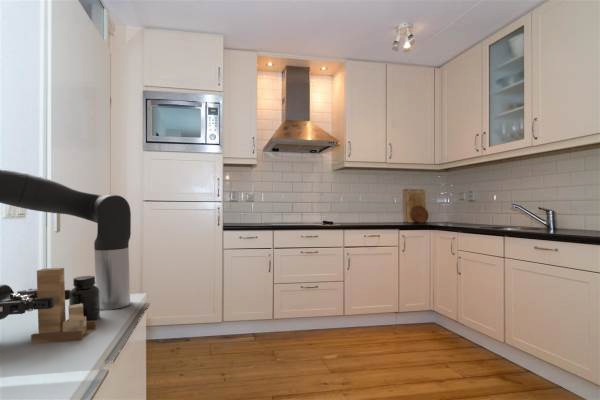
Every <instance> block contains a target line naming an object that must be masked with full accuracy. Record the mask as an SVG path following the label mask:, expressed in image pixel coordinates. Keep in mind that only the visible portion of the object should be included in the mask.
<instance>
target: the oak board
mask: <svg viewBox="0 0 600 400" xmlns="http://www.w3.org/2000/svg"><path fill="white" fill-rule="evenodd" d="M65 281H66V280H65V267H58V268H57V267H56V268H55V267H54V268H53V267H52V268H42V269H38V270H36V285H37V286H36V289H37V297H38V298H53V299H54V307H53V308H51V309H37V320H38V321H37V322H38V323H37V324H38V327H37V328H38V329H37V330H38V332H37V333H53V332H63V322H65V321H66V318H67V317H66V300H65V290H66V287H65V286H66V285H65V284H66V282H65Z"/></svg>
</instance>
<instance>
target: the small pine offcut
mask: <svg viewBox="0 0 600 400" xmlns="http://www.w3.org/2000/svg"><path fill="white" fill-rule="evenodd" d="M67 309H68V319H69V322H73V321H79V320H84V317H83V303H82V304H76V305H69V304H68V307H67Z"/></svg>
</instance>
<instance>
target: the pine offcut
mask: <svg viewBox="0 0 600 400" xmlns="http://www.w3.org/2000/svg"><path fill="white" fill-rule="evenodd" d="M68 331H82V332H83V334H84V333H86V332H87V328H86V317H84V320H79V321H73V322H69V318H68V319H67V320H66V321H65V322H63V332H68Z"/></svg>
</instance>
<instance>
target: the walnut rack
mask: <svg viewBox="0 0 600 400" xmlns="http://www.w3.org/2000/svg"><path fill="white" fill-rule="evenodd" d="M86 328H87V332H86V333H84V334H83V332H82V331H68V332H53V333H39V332H37V333H32V334H30V344H32V345H33V344H46V343H47V344H49V343H60V342H61V343H63V342H76V341H82V340H83V339H85V338H86V337H87V336H88V335H90V334H91V333H92V332H93V331H95V330H96V329H97V320H95V321H86Z"/></svg>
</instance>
